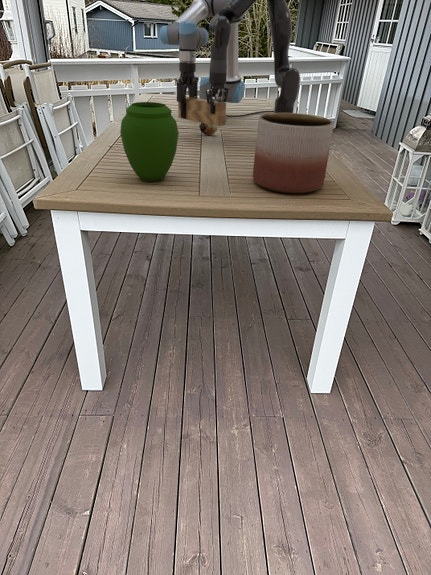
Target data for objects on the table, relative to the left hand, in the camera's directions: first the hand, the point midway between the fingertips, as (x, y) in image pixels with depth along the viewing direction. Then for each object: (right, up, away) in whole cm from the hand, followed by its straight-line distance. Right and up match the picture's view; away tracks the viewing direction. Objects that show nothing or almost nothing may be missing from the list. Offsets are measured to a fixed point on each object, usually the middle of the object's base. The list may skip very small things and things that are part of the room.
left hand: (187, 117), depth 196 cm
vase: (-9, -43, -50) cm, 66 cm away
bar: (+7, -4, -4) cm, 9 cm away
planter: (+40, -45, -48) cm, 77 cm away
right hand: (+14, -3, -11) cm, 18 cm away
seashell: (+10, -3, +15) cm, 18 cm away
